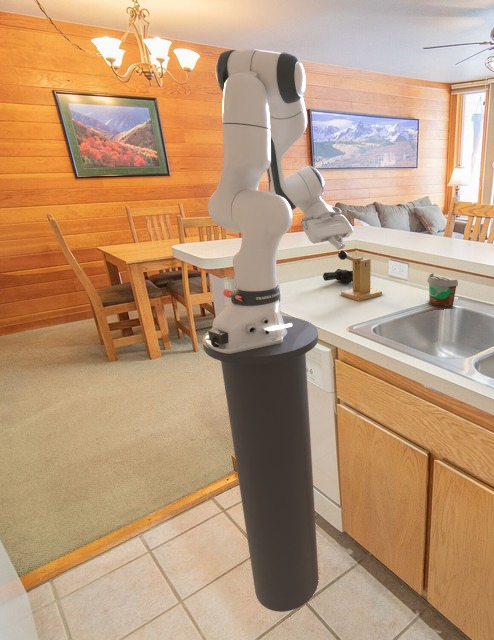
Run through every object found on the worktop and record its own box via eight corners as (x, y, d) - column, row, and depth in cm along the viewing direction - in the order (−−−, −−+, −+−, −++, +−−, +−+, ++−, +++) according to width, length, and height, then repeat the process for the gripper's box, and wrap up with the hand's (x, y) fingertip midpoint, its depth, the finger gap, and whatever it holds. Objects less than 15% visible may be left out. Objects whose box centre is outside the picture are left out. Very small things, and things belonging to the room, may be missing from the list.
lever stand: (358, 301, 159) (358, 263, 153) (341, 295, 165) (340, 258, 159) (382, 294, 167) (382, 258, 161) (364, 289, 173) (364, 254, 167)
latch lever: (341, 258, 151) (343, 249, 151) (335, 257, 153) (337, 248, 153) (365, 269, 161) (368, 261, 161) (359, 268, 163) (362, 259, 163)
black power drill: (379, 272, 182) (354, 266, 191) (345, 275, 168) (319, 268, 177) (378, 285, 184) (353, 278, 193) (344, 289, 170) (319, 281, 179)
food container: (418, 302, 159) (420, 275, 155) (430, 299, 163) (432, 272, 159) (444, 311, 151) (446, 282, 147) (455, 307, 154) (458, 279, 150)
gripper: (302, 212, 144) (326, 246, 143) (342, 208, 159) (364, 238, 158) (294, 225, 148) (316, 258, 147) (333, 219, 163) (354, 249, 162)
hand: (341, 248), depth 153 cm, fingers closed
